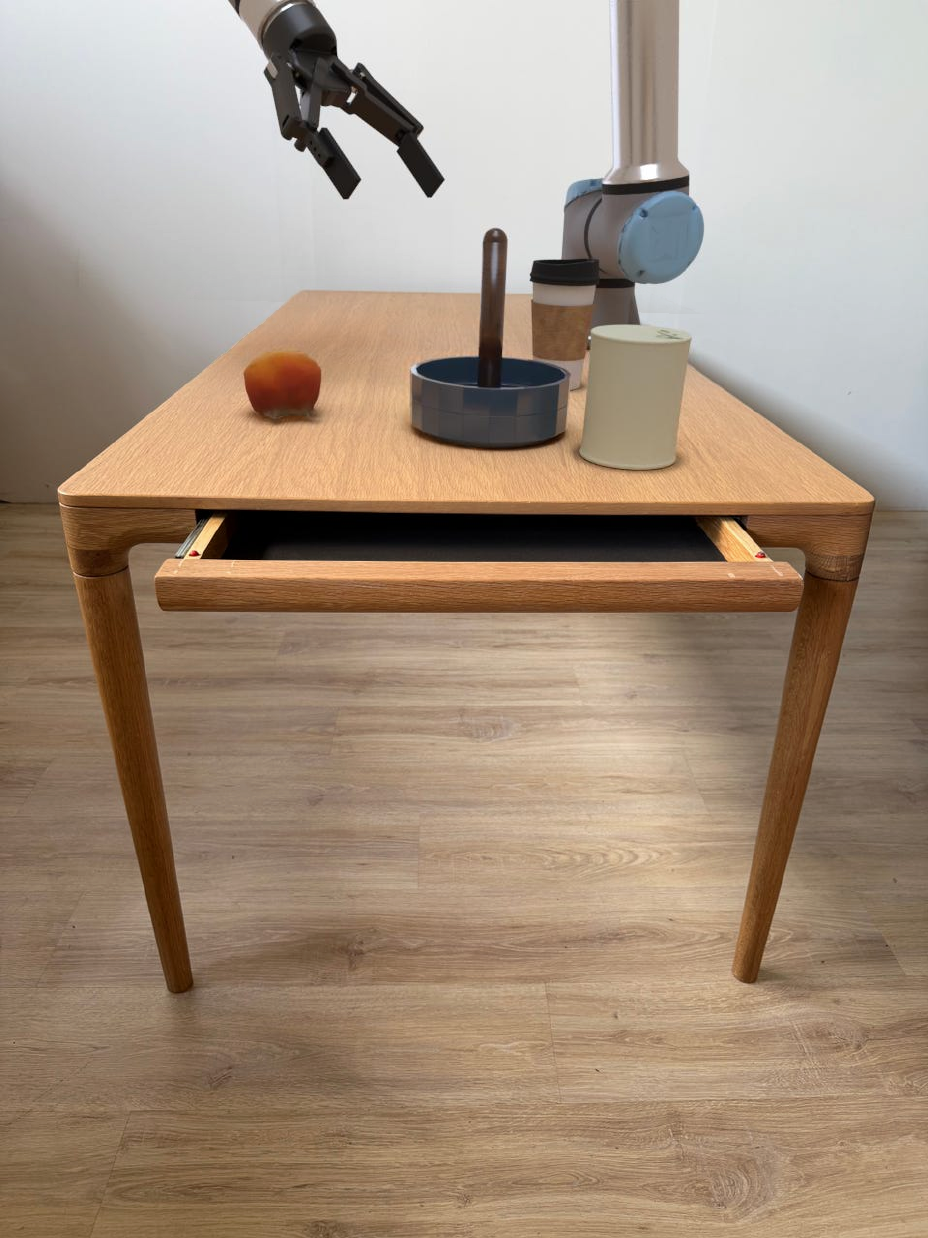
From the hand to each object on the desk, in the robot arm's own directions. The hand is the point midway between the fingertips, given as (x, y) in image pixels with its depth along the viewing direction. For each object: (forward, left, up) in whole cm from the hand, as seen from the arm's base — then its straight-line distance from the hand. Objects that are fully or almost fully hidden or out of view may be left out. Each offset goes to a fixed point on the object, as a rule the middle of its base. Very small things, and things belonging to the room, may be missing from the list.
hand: (396, 189), depth 98 cm
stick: (-8, +15, -21) cm, 27 cm away
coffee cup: (-21, -6, -22) cm, 31 cm away
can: (-21, +25, -22) cm, 39 cm away
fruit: (+12, +9, -22) cm, 27 cm away
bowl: (-9, +15, -22) cm, 28 cm away
